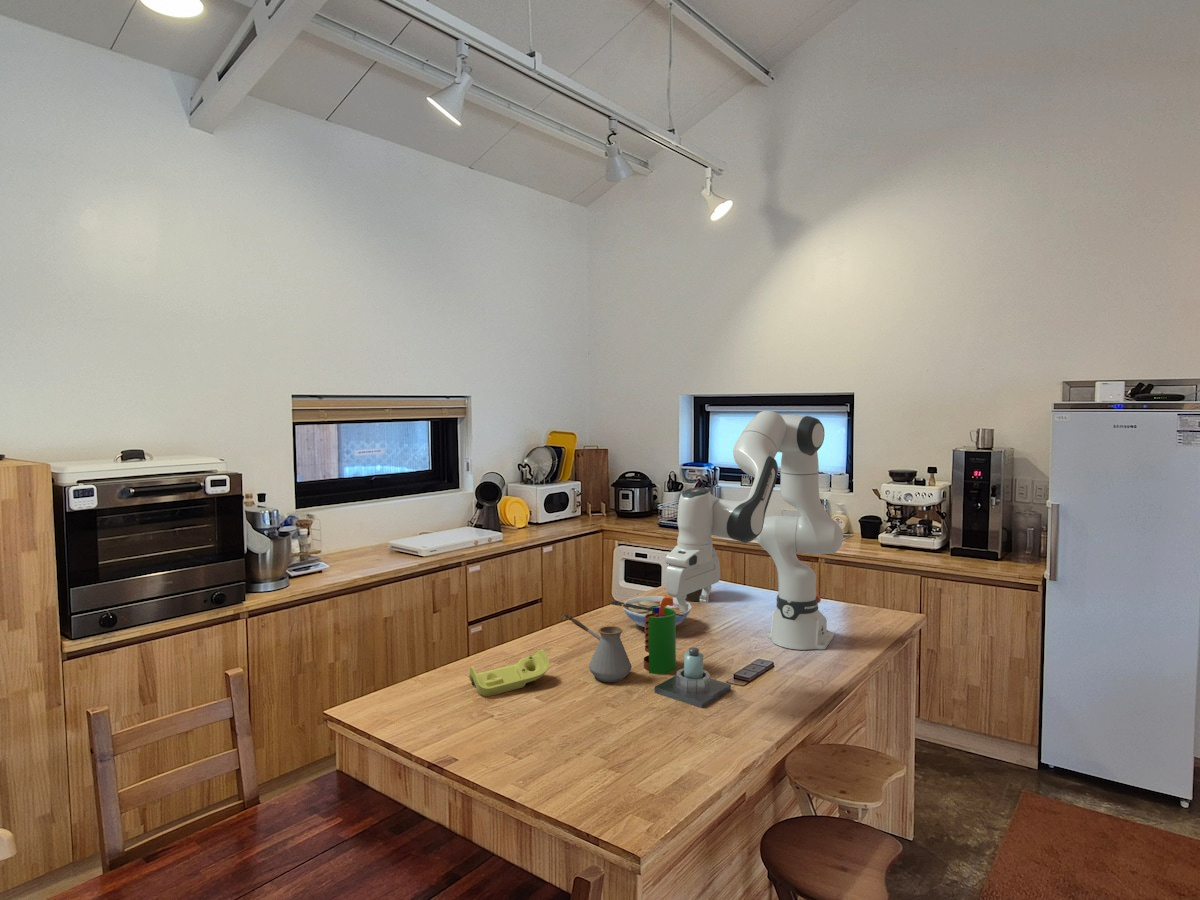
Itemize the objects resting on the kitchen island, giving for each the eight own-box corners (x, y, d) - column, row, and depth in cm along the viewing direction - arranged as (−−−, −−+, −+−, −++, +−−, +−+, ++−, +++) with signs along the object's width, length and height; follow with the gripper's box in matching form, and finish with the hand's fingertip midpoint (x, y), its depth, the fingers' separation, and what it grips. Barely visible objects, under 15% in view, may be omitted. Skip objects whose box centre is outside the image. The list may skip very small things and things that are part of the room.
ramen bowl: (706, 624, 237) (706, 600, 236) (675, 644, 218) (675, 618, 217) (640, 612, 250) (640, 589, 250) (605, 629, 231) (605, 605, 230)
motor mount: (684, 676, 193) (685, 660, 192) (730, 690, 184) (731, 673, 183) (654, 692, 182) (654, 675, 182) (701, 707, 173) (701, 689, 173)
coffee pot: (639, 674, 194) (639, 620, 193) (617, 688, 184) (618, 631, 183) (573, 658, 205) (573, 607, 204) (550, 671, 195) (550, 618, 194)
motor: (641, 661, 204) (641, 592, 202) (672, 660, 204) (672, 591, 203) (646, 674, 194) (647, 602, 192) (679, 673, 194) (679, 601, 193)
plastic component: (481, 690, 177) (469, 661, 184) (479, 711, 180) (468, 682, 188) (554, 671, 186) (540, 644, 193) (551, 691, 189) (538, 664, 197)
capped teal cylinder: (690, 680, 186) (691, 644, 185) (706, 685, 183) (707, 648, 182) (680, 685, 182) (680, 649, 182) (696, 690, 179) (696, 653, 179)
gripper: (705, 544, 190) (705, 595, 191) (661, 558, 174) (660, 613, 176) (726, 547, 186) (725, 599, 187) (683, 562, 170) (682, 618, 172)
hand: (694, 606), depth 181 cm, fingers open, 8 cm apart
